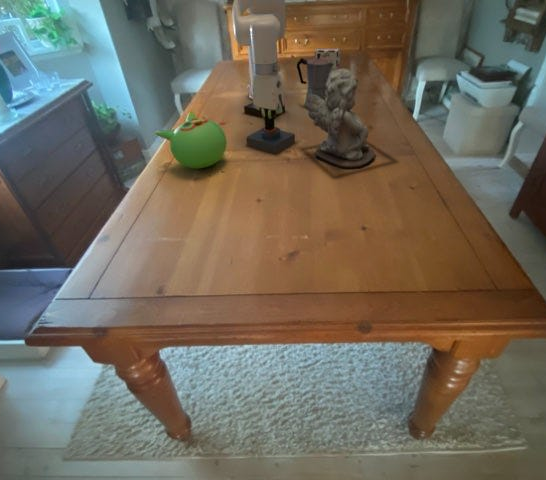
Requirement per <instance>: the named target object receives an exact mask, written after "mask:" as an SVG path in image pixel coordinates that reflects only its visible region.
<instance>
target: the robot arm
mask: <svg viewBox="0 0 546 480" xmlns="http://www.w3.org/2000/svg"><path fill="white" fill-rule="evenodd" d="M231 12H232V13H231V15H232V25H233V27H232V28H233V34H234V39H235V41H236V44H238V45H240V46H241V47H247V56H248V65H249V76H250V77H249V78H250V83H248V84H247V86H246V90H248V91H249V94H248V97H249V98H250V99H251V100H252V101H253V102H254V105H255V108H256V109H258V110H260V111H261V113H262V116H263V117H264V118H263V119H264V127H265V129H266V130H271V129H273V128H274V127H276V126H275V125H276V124H275V118H274V116H276V114H280V113H282V112H283V110H282V107H283V106H284V105H285V102H286V101H285V90H284V89H285V88H284V83H283V78H282V75H281V73H279V72H280V71H281V66H279V62H278V61H279V60H278V59H279V58H278V41H280V40H282V39H283V38H284V37H285V35H286V0H233V3H232V9H231ZM245 12H248V13H249V14H248V15H246V16H245V15H244V16H243V14H244V13H245ZM282 114H283V113H282ZM280 115H281V114H280ZM276 117H277V116H276Z"/></svg>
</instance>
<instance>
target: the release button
mask: <svg viewBox="0 0 546 480" xmlns="http://www.w3.org/2000/svg"><path fill="white" fill-rule="evenodd" d="M275 127H276V126H275ZM275 127H274V128H273V129H271V130H266V129H265V128H264V127H263V128H264V132H266V133H273V132H276V128H275Z"/></svg>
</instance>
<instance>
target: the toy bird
mask: <svg viewBox="0 0 546 480" xmlns="http://www.w3.org/2000/svg"><path fill="white" fill-rule="evenodd" d="M155 135H156V136H158V137H160V138H162V139H164V140H167V141H169V148H170V152H171V154H172V156H173V158H174V159H175V160H176V161H177V162H178V163H179V164H180V165H181V166H183V167H186V168H189V169H196V170H197V169H205V168H208V167H211V166H213V165H215V164H216V163H218V162H219V161H220V160H221V158H222V157H223V156H224V154H225V153H226V149H227V143H228V141H227V137H226V134H225V132H224V130H223V129H222V127H221V126H220V125H219V124H218V123H216V122H214V121H213V120H210V119H206V118H197V117H196V115H195V112H194V110H189V112H188V113H187V116H186V120H185V122H182V123H181V124H179V125H178V126H177V127H176V128H175V129H161V130H157V131H155Z"/></svg>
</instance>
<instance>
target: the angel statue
mask: <svg viewBox="0 0 546 480" xmlns="http://www.w3.org/2000/svg"><path fill="white" fill-rule="evenodd" d="M358 82H359V80H358V77H357V76H356V75H355V74H354V72H352V71H351V70H349V69H348V68H345V67H344V68H340V69H337V70H335V71H333V72H331V74H330V76H329V78H328V80H327V82H326V90H325V100H323V99H321V98H320V97H318V96H316V95H314V94H309V95H308V103H307V107H306V109H307V110H308V117H309V118H310V119H311V120H313V124H314V126H316V127H319V129H320V130H322V131H324V132H325V133H327V138H326V139H325V140H323V141H322V143H321V144H319V146H318V147H317V148H316V150H315V152H314V158H315V159H317V160H319V161H321V162H323V163H325V164H328V165H329V166H330V165H331V166H333V167H336V168H339V169H341V170H360V169H364V168H366V167H369V166H370V165H371V164H372V163H374V162H375V161H376V157H377V155H376V152H375V150H373V149H372V147H371V146H370V145H369V144H367V143H366V142H365V141H366V140H367V139H368V137H369V129H368V127H367V125H364V122H363V121H362V119H361V117H359V116H358V115H357V113H355V112H353V111H351V110H352V109H353V108H354V107H355V105H356V99H355V96H356V90H357V88H358Z"/></svg>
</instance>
